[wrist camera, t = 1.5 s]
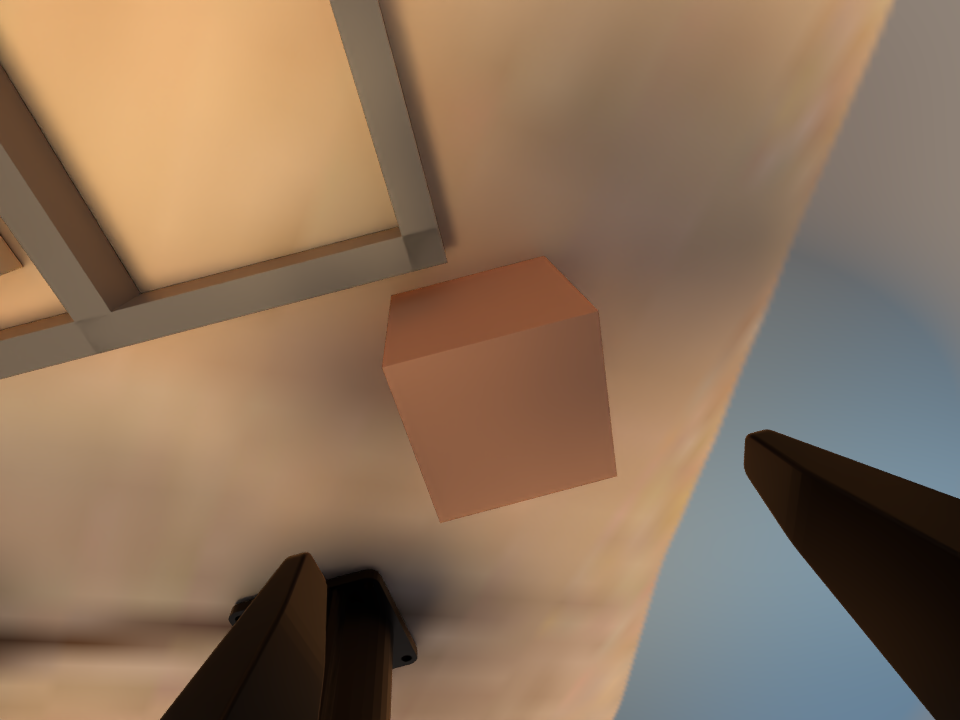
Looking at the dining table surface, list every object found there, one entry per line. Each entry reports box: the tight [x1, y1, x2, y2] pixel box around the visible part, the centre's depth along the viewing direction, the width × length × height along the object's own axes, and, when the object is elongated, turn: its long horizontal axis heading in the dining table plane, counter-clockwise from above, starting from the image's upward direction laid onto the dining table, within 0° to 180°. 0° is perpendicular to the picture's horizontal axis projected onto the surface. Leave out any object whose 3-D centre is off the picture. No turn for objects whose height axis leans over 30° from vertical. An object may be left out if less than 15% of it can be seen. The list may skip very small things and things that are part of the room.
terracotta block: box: [382, 256, 617, 523], centre depth 14 cm, size 5×5×5 cm
